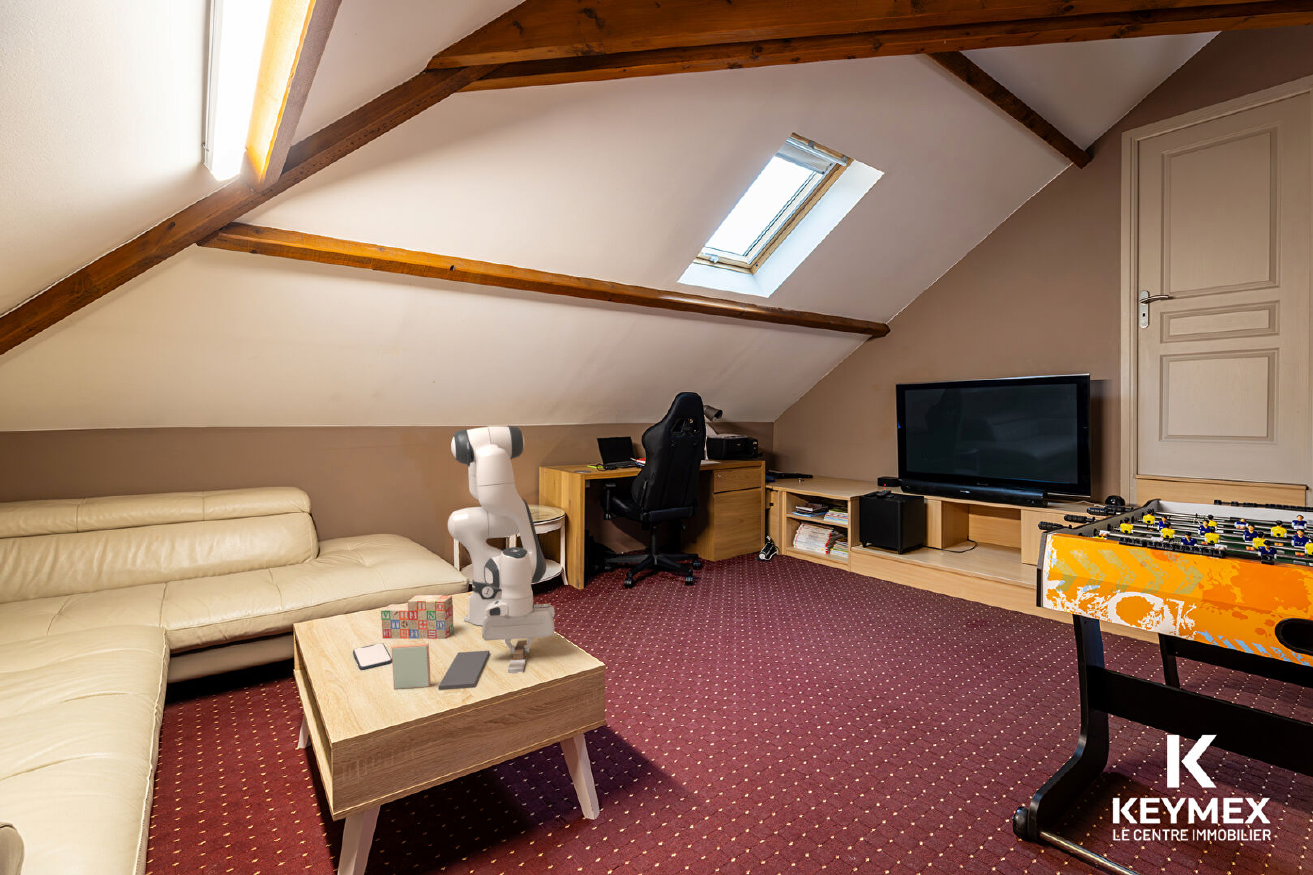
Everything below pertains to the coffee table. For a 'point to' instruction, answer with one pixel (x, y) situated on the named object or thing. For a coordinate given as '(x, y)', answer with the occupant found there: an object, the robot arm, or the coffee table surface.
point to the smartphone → (372, 656)
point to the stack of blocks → (419, 618)
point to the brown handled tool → (518, 658)
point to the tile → (411, 666)
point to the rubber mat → (464, 670)
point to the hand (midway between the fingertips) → (519, 652)
